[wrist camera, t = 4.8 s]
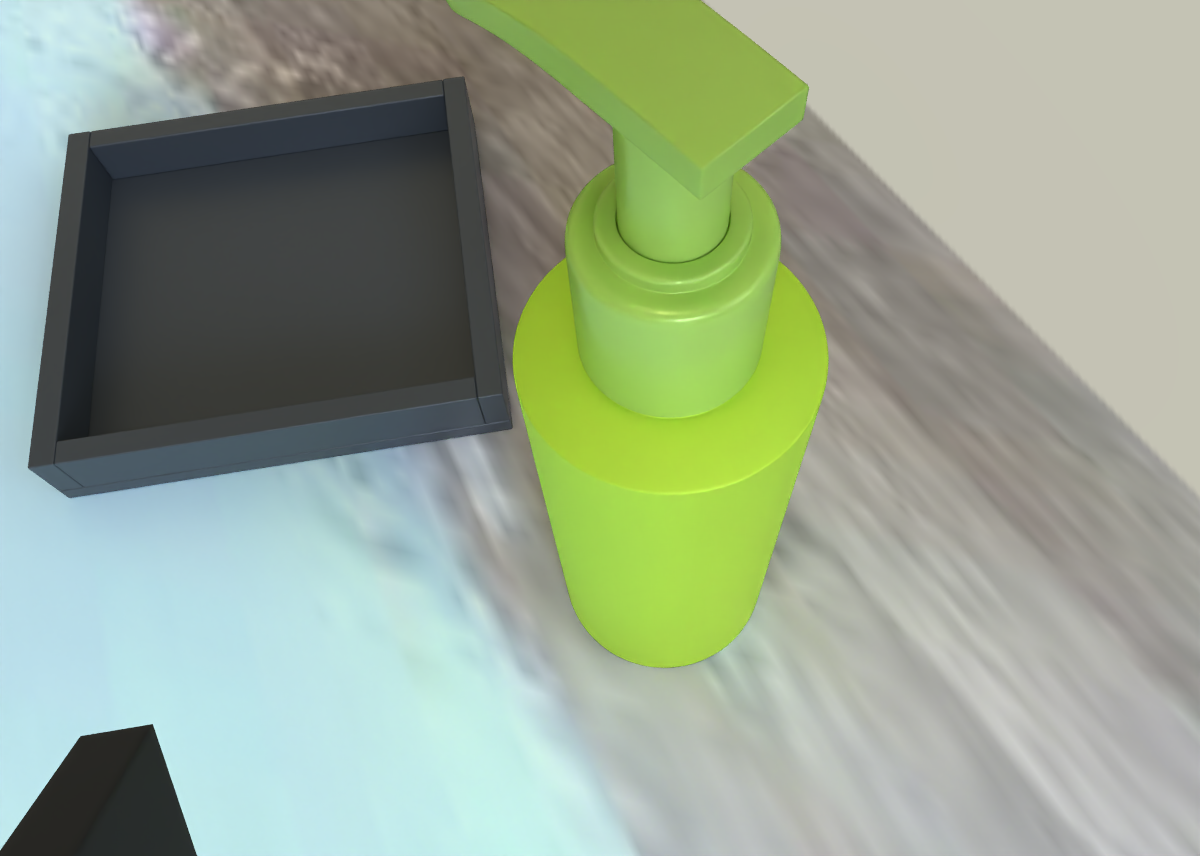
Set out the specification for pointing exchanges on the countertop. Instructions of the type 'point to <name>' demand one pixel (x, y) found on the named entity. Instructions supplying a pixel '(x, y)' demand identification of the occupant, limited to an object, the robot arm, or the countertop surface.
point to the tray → (268, 291)
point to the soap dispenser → (665, 326)
